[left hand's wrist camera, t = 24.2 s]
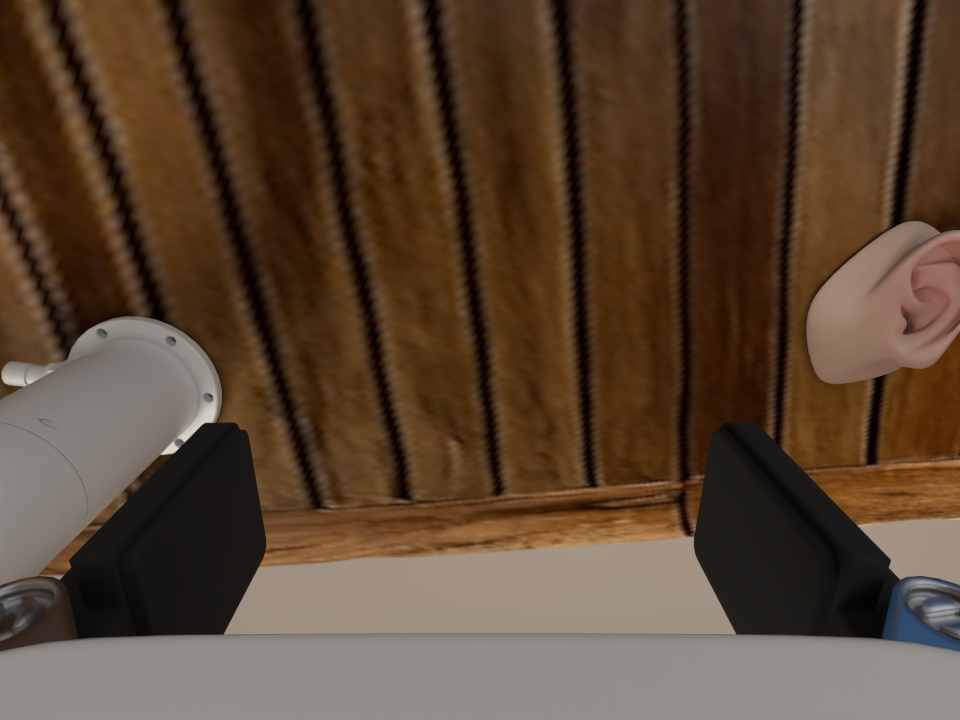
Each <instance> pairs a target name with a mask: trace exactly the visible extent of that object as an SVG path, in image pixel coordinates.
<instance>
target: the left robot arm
mask: <svg viewBox="0 0 960 720" xmlns="http://www.w3.org/2000/svg"><path fill="white" fill-rule="evenodd" d="M2 380H3V381H4V383H6V384H8V385H15V386H24V387H23V388H21V389H19V390H18V391H16V392H14V393H12V394H10V395H8V396H6V397H5V398H3V399H1V400H0V720H960V585H957V584H954V583H951V582H948V581H944V580H941V579H938V578H931V577H924V576H915V577H906V578H904V579H901V580H900V579H899V578H898V577H897V576H896V575H895V574H894V573H893V572H892V571H891V570H890V569H889V565H890V562H891V560H890V559H889V558H888V557H887V556H886V555H885V553H884V552H883V551H882V550H881V549H880V548H879V547H878V546H877V545H876V544H875V543H874V542H873V541H872V540H871V539H870V538H869V537H868V536H867V535H866V534H865V533H864V532H863V531H862V530H861V529H860V528H859V527H858V526H857V525H856V524H855V523H854V522H853V521H852V520H851V519H850V518H849V517H848V516H847V515H846V514H845V513H844V512H843V511H842V510H841V509H840V508H839V507H838V506H837V505H836V504H835V503H834V502H833V501H832V500H831V499H830V498H829V496H828V495H827V494H826V493H825V492H824V491H823V490H822V489H821V488H820V487H819V486H818V485H817V484H816V483H815V482H814V481H813V480H812V479H811V478H810V477H809V476H808V475H807V474H806V473H805V472H804V471H803V470H802V469H801V468H800V467H799V466H798V465H797V464H796V463H795V462H794V461H793V460H792V459H791V458H790V457H789V456H788V455H787V454H786V453H785V452H784V451H783V450H782V449H781V448H780V447H779V446H778V445H777V444H776V443H775V442H774V441H773V440H772V439H771V437H770V436H769V435H768V434H767V433H766V432H765V431H764V430H763V429H762V428H761V427H760V426H759V425H758V424H756V423H724V424H723V425H722V427H721V429H720V430H715V431H714V432H713V433H712V437H711V442H710V448H709V453H708V459H707V465H706V471H705V477H704V483H703V489H702V495H701V501H700V507H699V512H698V518H697V524H696V530H695V536H694V549H695V554H696V557H697V559H698V561H699V563H700V565H701V567H702V569H703V571H704V573H705V575H706V577H707V579H708V581H709V582H710V584H711V586H712V588H713V590H714V592H715V594H716V596H717V598H718V600H719V602H720V604H721V606H722V607H723V609H724V611H725V613H726V615H727V617H728V619H729V621H730V623H731V625H732V627H733V629H734V630H735V632H736V634H737V635H726V634H725V635H723V634H584V633H367V634H240V635H223V634H224V632H225V630H226V629H227V627H228V625H229V623H230V621H231V619H232V617H233V615H234V613H235V611H236V609H237V607H238V606H239V603H240V602H241V600H242V598H243V596H244V594H245V592H246V590H247V588H248V586H249V584H250V582H251V581H252V579H253V577H254V575H255V573H256V571H257V569H258V567H259V565H260V563H261V561H262V559H263V557H264V554H265V550H266V536H265V530H264V524H263V518H262V512H261V507H260V501H259V495H258V489H257V483H256V477H255V471H254V465H253V459H252V453H251V448H250V442H249V437H248V433H247V432H246V431H245V430H240V429H239V427H238V425H237V424H236V423H216V421H217V419H218V417H219V414H220V410H221V405H222V389H221V384H220V379H219V377H218V374H217V372H216V369H215V367H214V365H213V363H212V362H211V360H210V359H209V357H208V356H207V354H206V353H205V352H204V351H203V350H202V348H201V347H200V346H199V345H198V344H197V343H196V342H195V341H194V340H192V339H191V338H190V337H189V336H187V335H186V334H185V333H183V332H182V331H180V330H178V329H176V328H175V327H173V326H171V325H169V324H166V323H164V322H161V321H158V320H156V319H151V318H146V317H139V316H124V317H118V318H112V319H110V320H107V321H105V322H102V323H100V324H98V325H96V326H94V327H92V328H90V329H88V330H87V331H86V332H85V333H84V334H83V335H81V336H80V337H79V338H78V339H77V341H76V342H75V344H74V345H73V347H72V348H71V351H70V354H69V356H68V359H67V360H65V361H64V362H62V363H60V362H52V363H49V364H48V365H46V366H43V365H38V364H33V363H24V362H14V361H11V362H9V363H7V364H6V365H5V366H4V367H3V370H2ZM172 453H174V454H173V455H172V456H171V457H170V458H169V459H168V460H167V461H166V462H165V463H164V464H163V465H162V466H161V467H160V468H159V469H158V470H157V471H156V472H155V473H154V474H153V475H152V476H151V477H150V478H149V479H148V480H147V481H146V482H145V483H144V484H143V485H142V486H141V487H140V488H139V489H138V490H137V491H136V492H135V493H134V494H133V495H132V496H131V498H130V499H129V500H128V501H127V502H126V503H125V504H124V505H123V506H122V507H121V508H120V509H119V510H118V511H117V512H116V513H115V514H114V515H113V516H112V517H111V518H110V519H109V520H108V521H107V522H106V523H105V524H104V525H103V526H102V527H101V528H100V529H99V530H98V531H97V532H96V533H95V534H94V535H93V536H92V537H91V538H90V539H89V540H88V541H87V542H86V543H85V544H84V545H83V546H82V547H81V548H80V549H79V550H78V551H77V552H76V553H75V554H74V556H73V557H72V558H71V559H70V560H69V562H70V565H71V569H70V570H69V571H68V572H67V573H66V574H65V575H64V576H63V577H62V578H61V579H60V580H59V579H56V578H54V577H45V576H37V575H38V574H39V573H40V572H41V571H42V570H43V569H44V568H45V567H46V566H47V565H48V564H49V563H50V562H51V561H52V560H53V559H54V558H55V557H56V556H57V555H58V554H59V553H60V552H61V551H62V550H63V549H64V548H65V547H66V546H67V545H68V544H69V543H70V542H71V541H72V540H73V539H74V538H75V537H76V536H77V535H78V534H79V533H80V532H82V531H83V530H84V529H85V528H86V527H87V526H88V525H89V524H90V523H91V522H92V521H93V520H94V519H95V518H96V517H97V516H98V515H99V514H100V513H101V512H102V511H103V510H104V509H105V508H106V507H107V506H108V505H109V504H110V503H111V502H112V501H113V500H114V499H115V498H116V497H117V496H118V495H119V494H120V493H121V492H122V491H123V490H124V489H125V488H127V487H128V486H129V485H130V484H131V483H132V482H133V481H134V480H135V479H136V478H137V477H138V476H139V475H140V474H141V473H142V472H143V471H144V470H145V469H146V468H147V467H148V466H149V465H150V464H151V463H152V462H153V461H154V460H155V459H156V458H157V457H158V456H159V455H166V454H172Z"/></svg>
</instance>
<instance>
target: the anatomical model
mask: <svg viewBox="0 0 960 720" xmlns="http://www.w3.org/2000/svg"><path fill="white" fill-rule="evenodd" d="M959 332H960V230H952V231H946V232H943V233H940V232H939V231H937V230H936V229H935V228H933V227H932V226H930V225H928V224H926V223H923V222H920V221H909V222H905V223H902V224H900V225H897V226H895V227H893V228H892V229H890V230H888V231H887V232H885V233H884V234H882V235H881V236H879V237H878V238H876V239H875V240H874V241H872V242H871V243H870V244H868V245H867V246H866V247H865V248H863V249H862V250H861V251H859V252H858V253H857V254H856V255H855V256H854V257H852V258H851V259H850V260H849V261H848V262H847V263H845V264H844V265H843V266H842V267H841V268H840V269H839V270H838V271H837V272H836V273H835V274H833V276H832V277H831V278H830V279H829V280H828V281H827V282H826V283H825V284H824V285H823V286H822V288H821V289H820V290H819V291H818V293H817V294H816V296H815V297H814V299H813V301H812V303H811V305H810V308H809V311H808V316H807V324H806V336H807V345H808V351H809V355H810V359H811V363H812V366H813V368H814V371H815V373H816V374H817V376H818V377H819V378H820V379H821V380H822V381H824V382H827V383H831V384H842V383H850V382H856V381H862V380H867V379H871V378H875V377H878V376H882V375H885V374H888V373H891V372H893V371H895V370H897V369H899V368H901V367H908V368H916V369H921V368H926V367H929V366H931V365H933V364H934V363H935V362H936V361H937V360H938V359H939V358H940V357H941V355H942V354H943V353H944V351H945V350H946V349H947V347H948V346H949V345H950V343H951V342H952V341H953V339H954V338H955V337H956V335H957V334H958V333H959Z"/></svg>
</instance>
